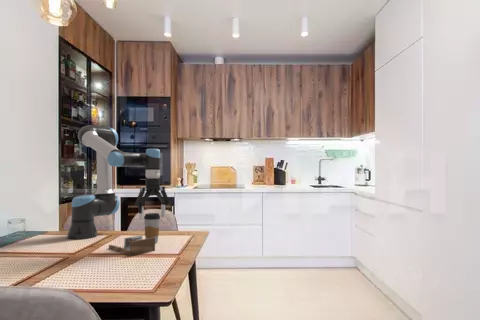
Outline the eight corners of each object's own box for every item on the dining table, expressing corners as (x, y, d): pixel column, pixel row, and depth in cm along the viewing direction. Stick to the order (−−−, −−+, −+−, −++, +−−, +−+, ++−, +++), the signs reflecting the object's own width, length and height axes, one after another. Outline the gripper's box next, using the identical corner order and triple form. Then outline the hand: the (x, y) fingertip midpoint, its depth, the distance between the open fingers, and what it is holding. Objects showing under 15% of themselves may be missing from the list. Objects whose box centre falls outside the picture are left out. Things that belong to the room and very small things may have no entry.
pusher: (123, 251, 151) (124, 238, 151) (141, 247, 158) (141, 235, 158) (128, 252, 148) (128, 239, 148) (145, 248, 155) (145, 236, 155)
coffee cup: (162, 241, 173) (162, 213, 174) (156, 244, 165) (157, 215, 165) (147, 240, 174) (147, 212, 174) (140, 244, 166) (141, 215, 166)
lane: (108, 248, 156) (108, 235, 156) (131, 244, 166) (131, 232, 166) (131, 255, 144) (131, 242, 144) (154, 250, 153) (155, 237, 153)
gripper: (136, 178, 159) (135, 221, 158) (176, 177, 178) (175, 216, 177) (127, 178, 163) (127, 220, 162) (167, 177, 183) (167, 215, 182)
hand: (152, 218), depth 170 cm, fingers open, 13 cm apart
